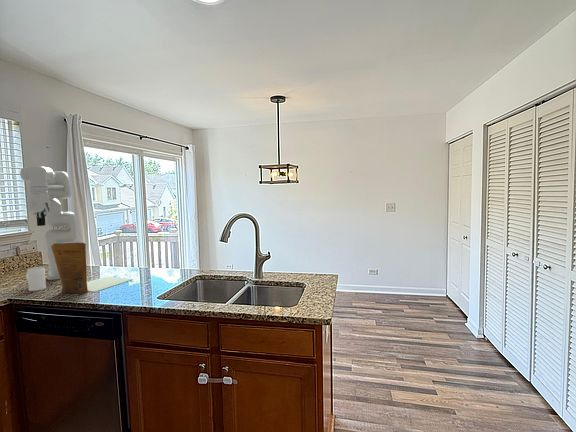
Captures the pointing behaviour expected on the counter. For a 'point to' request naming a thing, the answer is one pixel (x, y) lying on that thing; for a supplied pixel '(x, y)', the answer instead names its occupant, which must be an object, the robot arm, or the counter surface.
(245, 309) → the counter surface
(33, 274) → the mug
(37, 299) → the counter surface
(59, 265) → the pancake mix bag
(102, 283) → the silicone mat
